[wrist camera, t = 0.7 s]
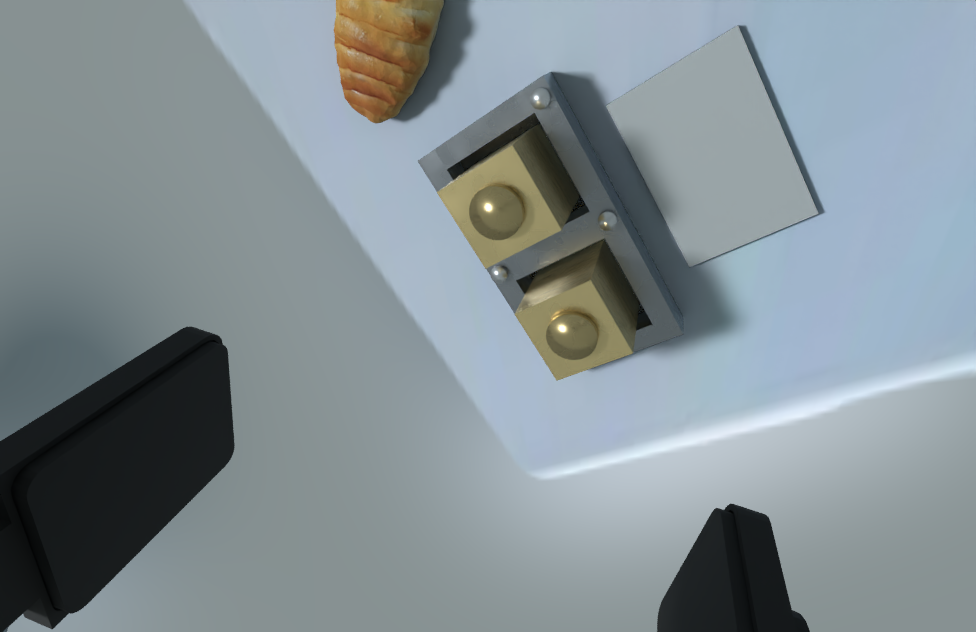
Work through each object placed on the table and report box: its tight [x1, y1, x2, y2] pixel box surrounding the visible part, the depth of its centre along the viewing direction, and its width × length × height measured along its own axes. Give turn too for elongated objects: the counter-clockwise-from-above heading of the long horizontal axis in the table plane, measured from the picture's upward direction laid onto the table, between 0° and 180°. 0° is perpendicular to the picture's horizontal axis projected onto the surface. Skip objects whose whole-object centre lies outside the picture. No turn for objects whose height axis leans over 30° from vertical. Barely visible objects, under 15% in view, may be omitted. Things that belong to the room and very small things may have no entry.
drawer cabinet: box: [418, 72, 683, 352], centre depth 38 cm, size 10×19×3 cm, turn 34°
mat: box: [606, 25, 818, 267], centre depth 33 cm, size 8×12×1 cm, turn 34°
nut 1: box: [437, 124, 580, 269], centre depth 35 cm, size 6×6×8 cm
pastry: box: [334, 0, 444, 123], centre depth 35 cm, size 9×7×4 cm
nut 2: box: [515, 239, 640, 380], centre depth 37 cm, size 6×6×8 cm
